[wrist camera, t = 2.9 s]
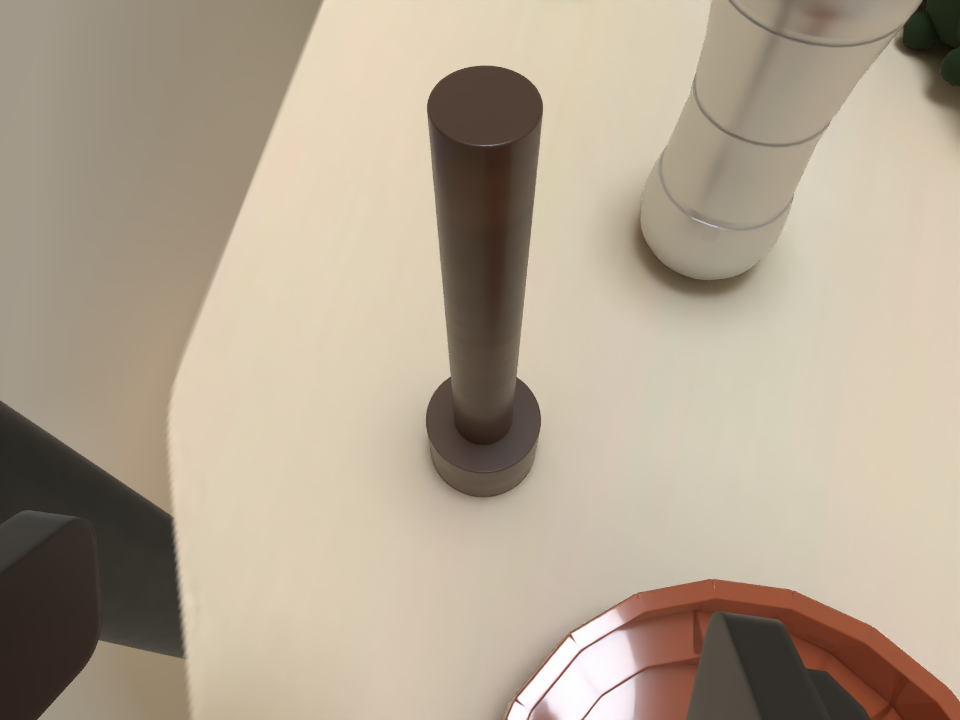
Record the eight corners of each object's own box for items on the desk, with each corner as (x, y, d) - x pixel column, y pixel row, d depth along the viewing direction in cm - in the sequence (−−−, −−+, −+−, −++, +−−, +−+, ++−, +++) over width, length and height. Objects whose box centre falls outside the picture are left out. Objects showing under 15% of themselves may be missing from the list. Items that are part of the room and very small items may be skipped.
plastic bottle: (753, 192, 35) (1026, -339, 18) (771, 303, 32) (1127, -211, 14) (627, 187, 35) (773, -345, 18) (633, 296, 32) (818, -219, 15)
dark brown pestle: (422, 489, 28) (345, 179, 12) (440, 392, 30) (393, 19, 14) (529, 503, 28) (595, 205, 12) (540, 405, 30) (607, 38, 14)
